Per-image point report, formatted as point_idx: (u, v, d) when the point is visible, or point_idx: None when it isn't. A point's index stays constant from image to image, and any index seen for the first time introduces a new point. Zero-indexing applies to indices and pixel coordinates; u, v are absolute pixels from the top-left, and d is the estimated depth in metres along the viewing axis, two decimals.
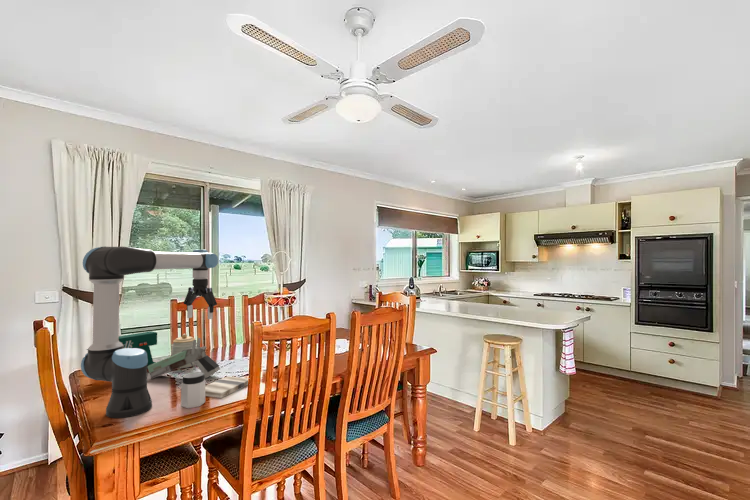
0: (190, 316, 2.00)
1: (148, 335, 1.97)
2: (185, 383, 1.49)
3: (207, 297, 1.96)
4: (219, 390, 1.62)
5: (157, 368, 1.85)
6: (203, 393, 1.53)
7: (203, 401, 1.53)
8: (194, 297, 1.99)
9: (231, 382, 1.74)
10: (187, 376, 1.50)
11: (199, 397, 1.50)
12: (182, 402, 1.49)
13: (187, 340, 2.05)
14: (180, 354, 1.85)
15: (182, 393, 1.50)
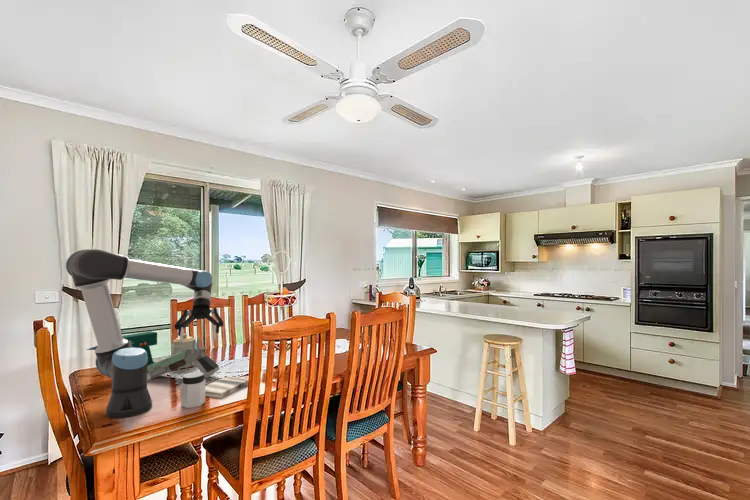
0: (182, 340, 1.62)
1: (148, 335, 1.97)
2: (185, 383, 1.49)
3: None
4: (219, 390, 1.62)
5: (156, 368, 1.84)
6: (203, 393, 1.53)
7: (203, 401, 1.53)
8: (191, 320, 1.70)
9: (231, 382, 1.74)
10: (187, 376, 1.50)
11: (199, 397, 1.50)
12: (182, 402, 1.49)
13: (187, 340, 2.05)
14: (179, 354, 1.84)
15: (182, 393, 1.50)
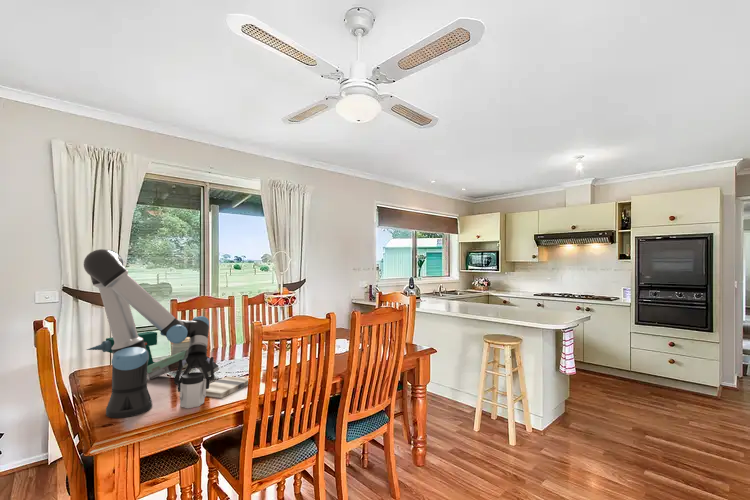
0: None
1: (148, 335, 1.97)
2: (184, 384, 1.48)
3: (205, 369, 1.58)
4: (219, 390, 1.62)
5: (156, 369, 1.84)
6: (202, 393, 1.53)
7: (202, 401, 1.53)
8: (189, 370, 1.56)
9: (231, 382, 1.74)
10: (186, 376, 1.50)
11: (198, 397, 1.50)
12: (181, 402, 1.49)
13: (187, 340, 2.05)
14: (179, 354, 1.84)
15: None
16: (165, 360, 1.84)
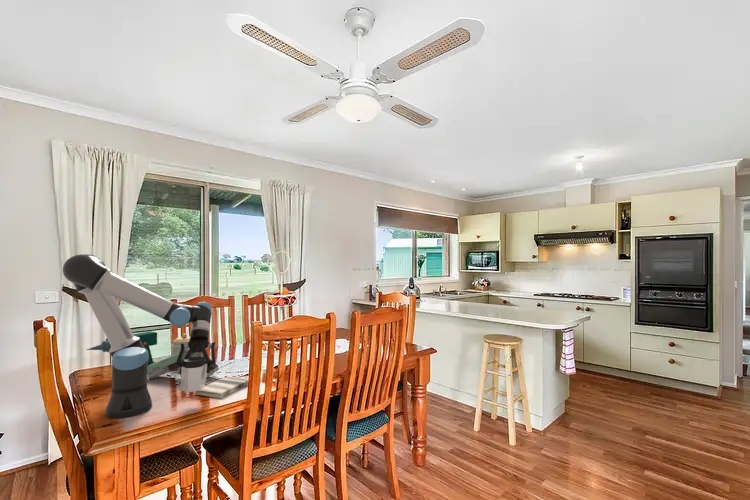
0: (183, 380, 1.49)
1: (148, 335, 1.97)
2: (185, 367, 1.49)
3: (206, 354, 1.59)
4: (219, 390, 1.62)
5: (155, 369, 1.84)
6: (203, 377, 1.53)
7: (203, 385, 1.53)
8: (190, 354, 1.57)
9: (231, 382, 1.74)
10: (188, 360, 1.50)
11: (199, 381, 1.50)
12: (182, 386, 1.49)
13: (187, 340, 2.05)
14: None
15: None
16: (165, 360, 1.84)
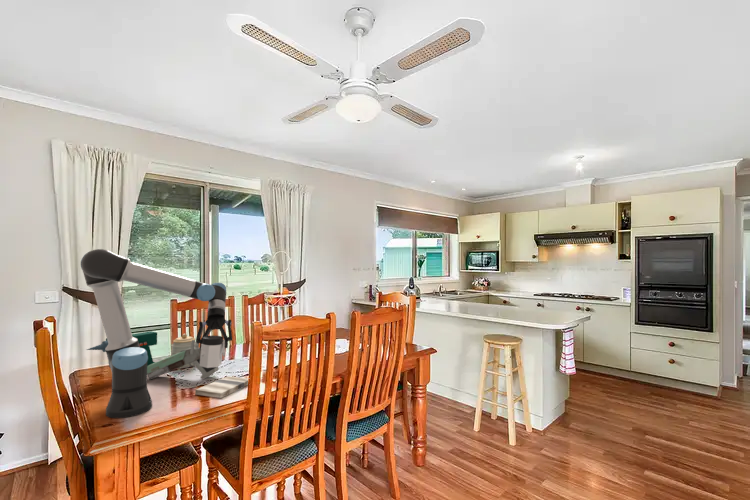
0: None
1: (148, 335, 1.97)
2: (206, 344, 1.57)
3: (223, 330, 1.68)
4: (219, 390, 1.62)
5: (155, 369, 1.84)
6: (221, 355, 1.62)
7: (220, 363, 1.62)
8: (209, 331, 1.66)
9: (231, 382, 1.74)
10: (208, 338, 1.59)
11: (218, 358, 1.59)
12: (201, 362, 1.58)
13: (187, 340, 2.05)
14: (178, 354, 1.84)
15: None
16: (164, 360, 1.84)
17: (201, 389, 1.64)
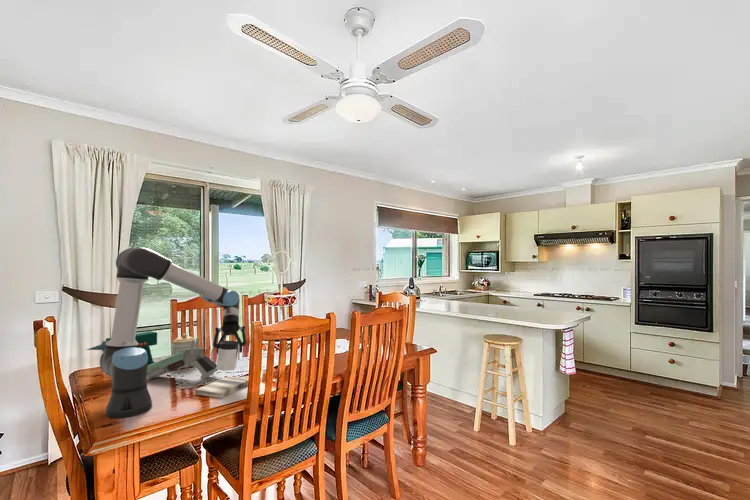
0: (220, 358, 1.70)
1: (148, 335, 1.97)
2: (222, 349, 1.69)
3: None
4: (219, 390, 1.62)
5: (155, 369, 1.83)
6: (236, 359, 1.74)
7: (235, 366, 1.74)
8: (224, 337, 1.78)
9: (231, 382, 1.74)
10: (224, 343, 1.71)
11: (234, 362, 1.71)
12: (218, 365, 1.69)
13: (187, 340, 2.05)
14: (178, 355, 1.84)
15: None
16: (164, 360, 1.83)
17: (201, 389, 1.64)
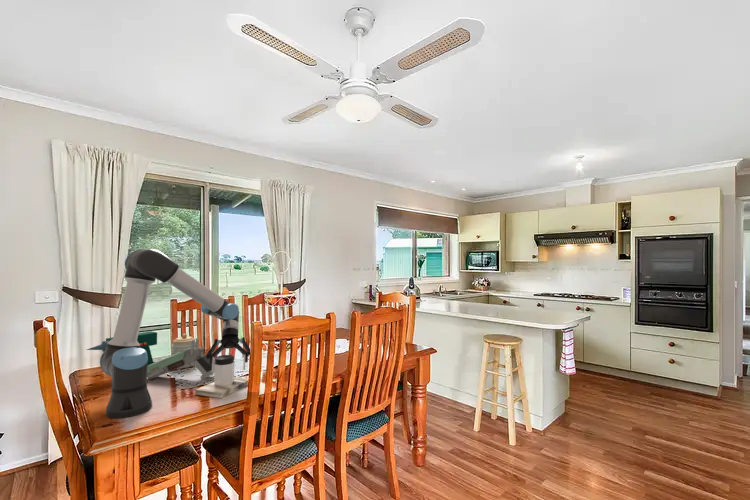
0: (213, 369, 1.70)
1: (148, 335, 1.97)
2: (218, 364, 1.68)
3: None
4: (219, 390, 1.62)
5: (154, 369, 1.83)
6: (233, 373, 1.73)
7: (233, 380, 1.73)
8: (221, 349, 1.78)
9: None
10: (220, 358, 1.70)
11: (231, 376, 1.70)
12: (216, 381, 1.69)
13: (187, 340, 2.05)
14: (178, 355, 1.84)
15: (215, 373, 1.69)
16: (164, 360, 1.83)
17: (201, 389, 1.64)
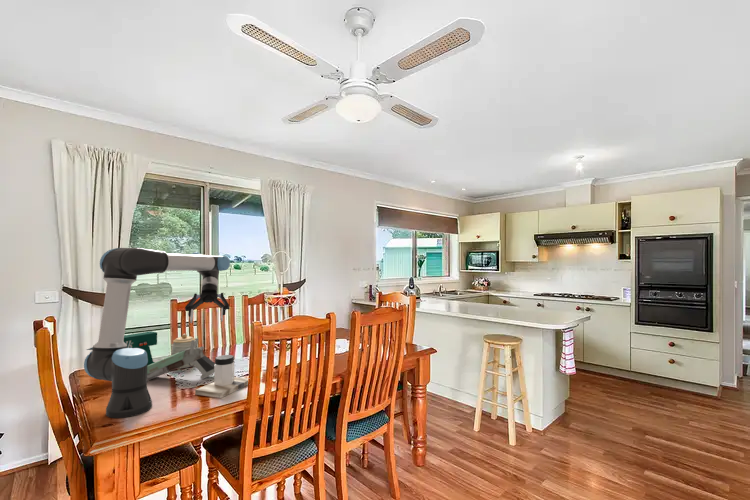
0: None
1: (148, 335, 1.97)
2: (218, 364, 1.68)
3: None
4: (219, 390, 1.62)
5: (153, 369, 1.83)
6: (233, 373, 1.73)
7: (233, 380, 1.73)
8: (200, 303, 1.86)
9: None
10: (220, 358, 1.70)
11: (231, 376, 1.70)
12: (216, 381, 1.69)
13: (187, 340, 2.05)
14: (178, 355, 1.83)
15: (215, 373, 1.69)
16: (163, 361, 1.83)
17: (201, 389, 1.64)
